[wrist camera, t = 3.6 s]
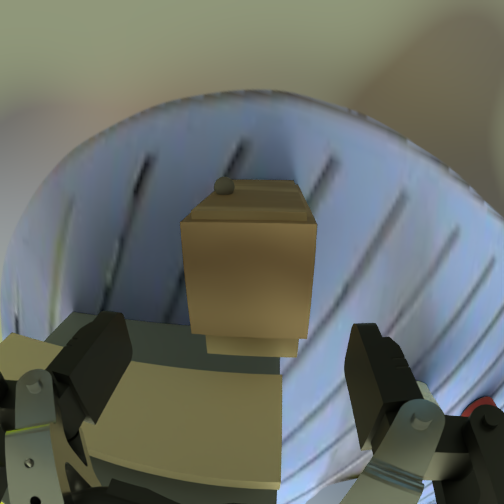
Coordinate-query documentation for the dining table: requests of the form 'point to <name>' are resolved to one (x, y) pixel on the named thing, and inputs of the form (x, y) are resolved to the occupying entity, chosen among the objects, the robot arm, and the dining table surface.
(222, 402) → the wall board
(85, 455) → the robot arm
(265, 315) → the cabinet
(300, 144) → the dining table surface
